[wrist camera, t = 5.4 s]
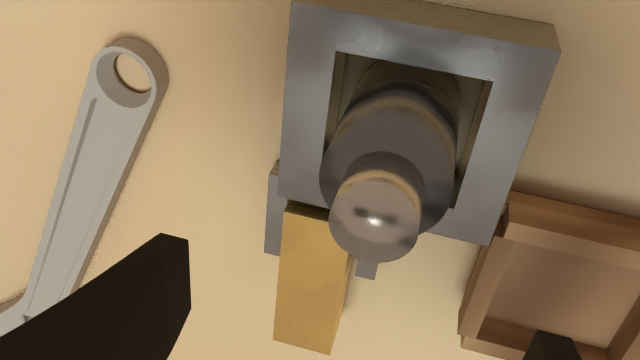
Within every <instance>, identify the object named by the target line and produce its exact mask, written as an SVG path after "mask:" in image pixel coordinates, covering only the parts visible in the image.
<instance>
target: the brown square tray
mask: <svg viewBox="0 0 640 360" xmlns="http://www.w3.org/2000/svg"><path fill="white" fill-rule="evenodd" d="M537 329H538V330H542V331H546V332H550V333H554V334H558V335H562V336H566V337H570V338H571V339H572V340H573V342H574V343H575V345H576V347H577V349H578V352H579V354H580V356H581V358H582V360H640V219H637V218H632V217H628V216H623V215H619V214H614V213H610V212H605V211H601V210H596V209H592V208H588V207H583V206H579V205H574V204H570V203H565V202H561V201H556V200H552V199H547V198H543V197H538V196H534V195H529V194H525V193H520V192H516V191H511V190H509V193H508V196H507V199H506V201H505V204H504V207H503V209H502V212H501V215H500V217H499V220H498V223H497V225H496V228H495V231H494V233H493V236H492V239H491V241H490V244H489V247H487V246H482V248H481V251H480V254H479V257H478V259H477V262H476V265H475V268H474V270H473V273H472V276H471V279H470V281H469V284H468V287H467V290H466V292H465V295H464V298H463V301H462V304H461V306H460V309H459V315H458V332H457V334H459V335H461V348H463V349H467V350H471V351H475V352H479V353H482V354H486V355H490V356H494V357H497V358H501V359H505V360H522V359H523V357H524V355H525V353H526V351H527V349H528V347H529V345H530V343H531V341H532V339H533V337H534V335H535V333H536V331H537Z"/></svg>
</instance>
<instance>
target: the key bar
mask: <svg viewBox="0 0 640 360" xmlns="http://www.w3.org/2000/svg"><path fill="white" fill-rule="evenodd" d="M330 211H331V210H330V209H328V208H324V207H319V206H315V205H311V204H307V203H303V202H298V201H294V200H289V202H288V204H287V206H286V208H285V210H284V215H283V226H282V238H281V250H280V262H279V274H278V286H277V298H276V309H275V321H274V333H273V340H276V341H279V342H283V343H287V344H290V345H294V346H297V347H301V348H305V349H308V350H312V351H316V352H319V353H323V354H326V355H330V353H331V350H332V346H333V343H334V339H335V336H336V332H337V329H338V325H339V322H340V318H341V315H342V310H343V305H344V300H345V294H346V289H347V284H348V278H349V273H350V268H351V262H352V257H353V256H352V255H350V254H349V253H347V252H346V251H345V250H343V249H342V248H341V247H340V246H339V245H338V244H337V243H336V241H335V240H334V238H333V237H332V235H331V232H330V229H329V223H328V219H329V213H330Z"/></svg>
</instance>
